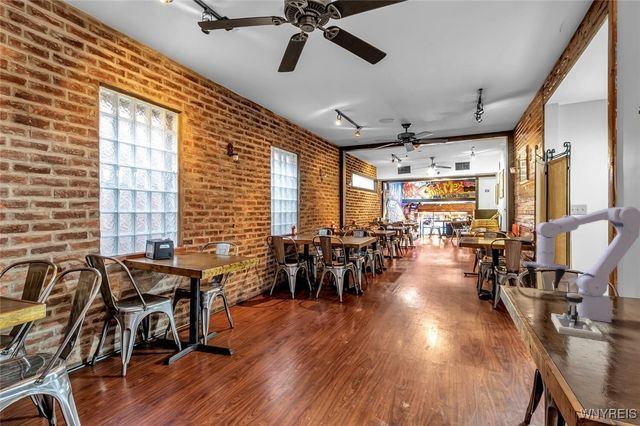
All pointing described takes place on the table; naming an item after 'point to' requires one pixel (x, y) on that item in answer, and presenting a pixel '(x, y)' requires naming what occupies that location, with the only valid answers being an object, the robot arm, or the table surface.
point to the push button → (573, 306)
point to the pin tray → (576, 327)
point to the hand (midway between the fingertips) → (544, 286)
